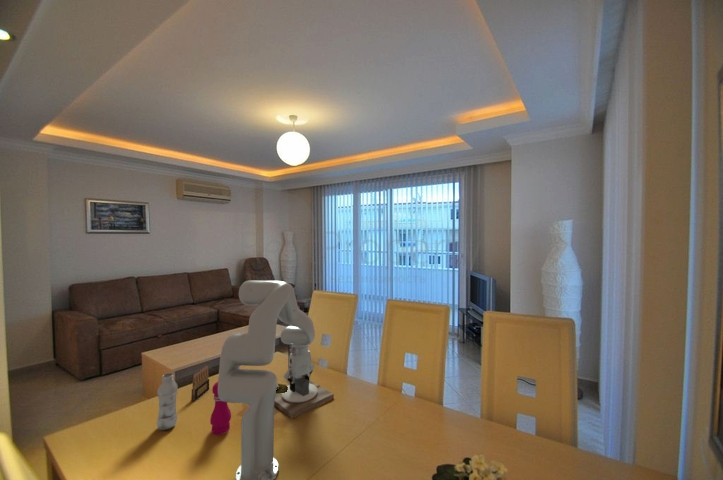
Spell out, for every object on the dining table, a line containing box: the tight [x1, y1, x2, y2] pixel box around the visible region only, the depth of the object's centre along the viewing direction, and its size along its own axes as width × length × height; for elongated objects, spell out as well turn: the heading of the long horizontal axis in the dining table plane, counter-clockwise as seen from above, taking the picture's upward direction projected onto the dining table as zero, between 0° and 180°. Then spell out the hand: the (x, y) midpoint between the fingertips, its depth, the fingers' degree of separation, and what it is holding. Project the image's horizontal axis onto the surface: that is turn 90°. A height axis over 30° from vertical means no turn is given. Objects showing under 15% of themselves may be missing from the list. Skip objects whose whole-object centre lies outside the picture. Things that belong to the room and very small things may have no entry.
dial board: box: [274, 379, 334, 419], centre depth 135 cm, size 22×22×2 cm
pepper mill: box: [209, 381, 232, 436], centre depth 113 cm, size 7×7×20 cm
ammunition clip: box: [190, 365, 210, 402], centre depth 138 cm, size 11×2×12 cm, turn 175°
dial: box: [282, 376, 317, 403], centre depth 135 cm, size 16×16×7 cm
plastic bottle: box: [156, 372, 179, 431], centre depth 114 cm, size 6×7×20 cm
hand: (299, 387), depth 135 cm, fingers open, 6 cm apart
